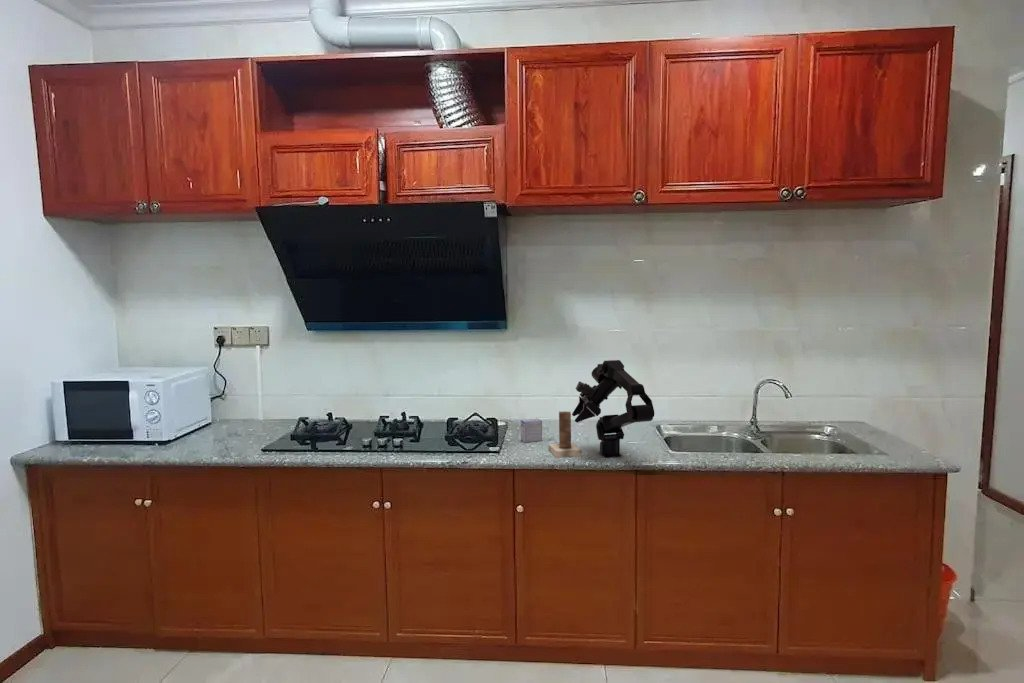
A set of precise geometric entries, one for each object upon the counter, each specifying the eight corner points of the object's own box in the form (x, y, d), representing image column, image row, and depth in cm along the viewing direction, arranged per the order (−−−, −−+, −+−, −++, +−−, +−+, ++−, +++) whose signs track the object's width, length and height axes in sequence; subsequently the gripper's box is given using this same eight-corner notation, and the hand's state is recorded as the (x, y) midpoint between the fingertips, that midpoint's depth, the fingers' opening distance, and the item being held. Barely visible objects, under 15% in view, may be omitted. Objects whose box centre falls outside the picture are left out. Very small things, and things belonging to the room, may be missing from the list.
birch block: (573, 450, 235) (573, 442, 234) (581, 457, 225) (581, 449, 225) (548, 451, 232) (548, 444, 232) (555, 459, 223) (555, 451, 222)
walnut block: (570, 445, 230) (570, 411, 230) (571, 447, 226) (570, 413, 226) (559, 445, 231) (559, 411, 230) (559, 447, 226) (559, 413, 226)
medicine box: (537, 438, 250) (538, 418, 249) (542, 441, 246) (542, 420, 245) (520, 440, 247) (520, 419, 246) (524, 443, 243) (524, 422, 242)
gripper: (585, 370, 234) (556, 398, 235) (592, 379, 215) (561, 409, 216) (605, 390, 235) (576, 417, 236) (613, 400, 216) (582, 430, 218)
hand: (574, 418), depth 226 cm, fingers open, 9 cm apart
